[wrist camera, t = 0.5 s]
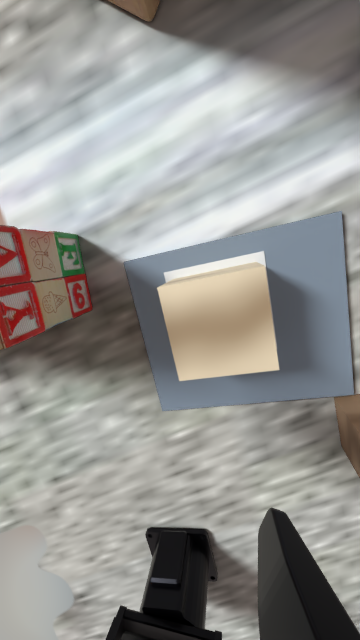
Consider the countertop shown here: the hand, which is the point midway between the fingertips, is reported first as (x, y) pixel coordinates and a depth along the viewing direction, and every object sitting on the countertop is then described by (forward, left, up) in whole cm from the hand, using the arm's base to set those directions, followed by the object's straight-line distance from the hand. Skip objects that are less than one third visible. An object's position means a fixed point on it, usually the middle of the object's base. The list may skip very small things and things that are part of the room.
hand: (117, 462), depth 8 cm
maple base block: (+1, -3, -13) cm, 13 cm away
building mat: (0, -4, -13) cm, 14 cm away
